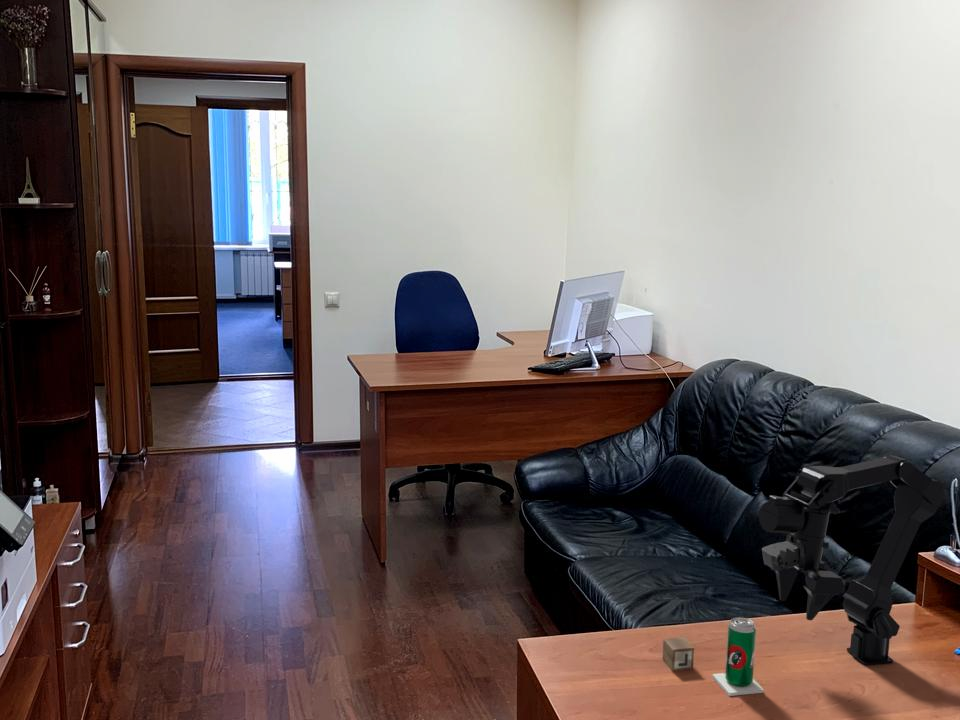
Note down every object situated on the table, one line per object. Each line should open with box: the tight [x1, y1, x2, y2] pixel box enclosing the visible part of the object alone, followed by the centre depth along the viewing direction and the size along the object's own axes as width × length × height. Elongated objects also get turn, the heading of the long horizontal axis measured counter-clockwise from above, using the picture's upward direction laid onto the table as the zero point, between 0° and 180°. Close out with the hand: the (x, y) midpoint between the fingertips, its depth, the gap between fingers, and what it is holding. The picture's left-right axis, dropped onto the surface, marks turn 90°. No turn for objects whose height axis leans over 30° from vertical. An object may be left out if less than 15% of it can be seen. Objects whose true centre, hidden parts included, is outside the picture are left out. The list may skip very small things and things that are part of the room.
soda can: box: [724, 616, 757, 687], centre depth 166 cm, size 5×5×12 cm
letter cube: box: [662, 636, 695, 672], centre depth 175 cm, size 4×5×4 cm
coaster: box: [711, 672, 765, 697], centre depth 167 cm, size 7×7×1 cm
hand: (795, 609), depth 171 cm, fingers open, 9 cm apart
